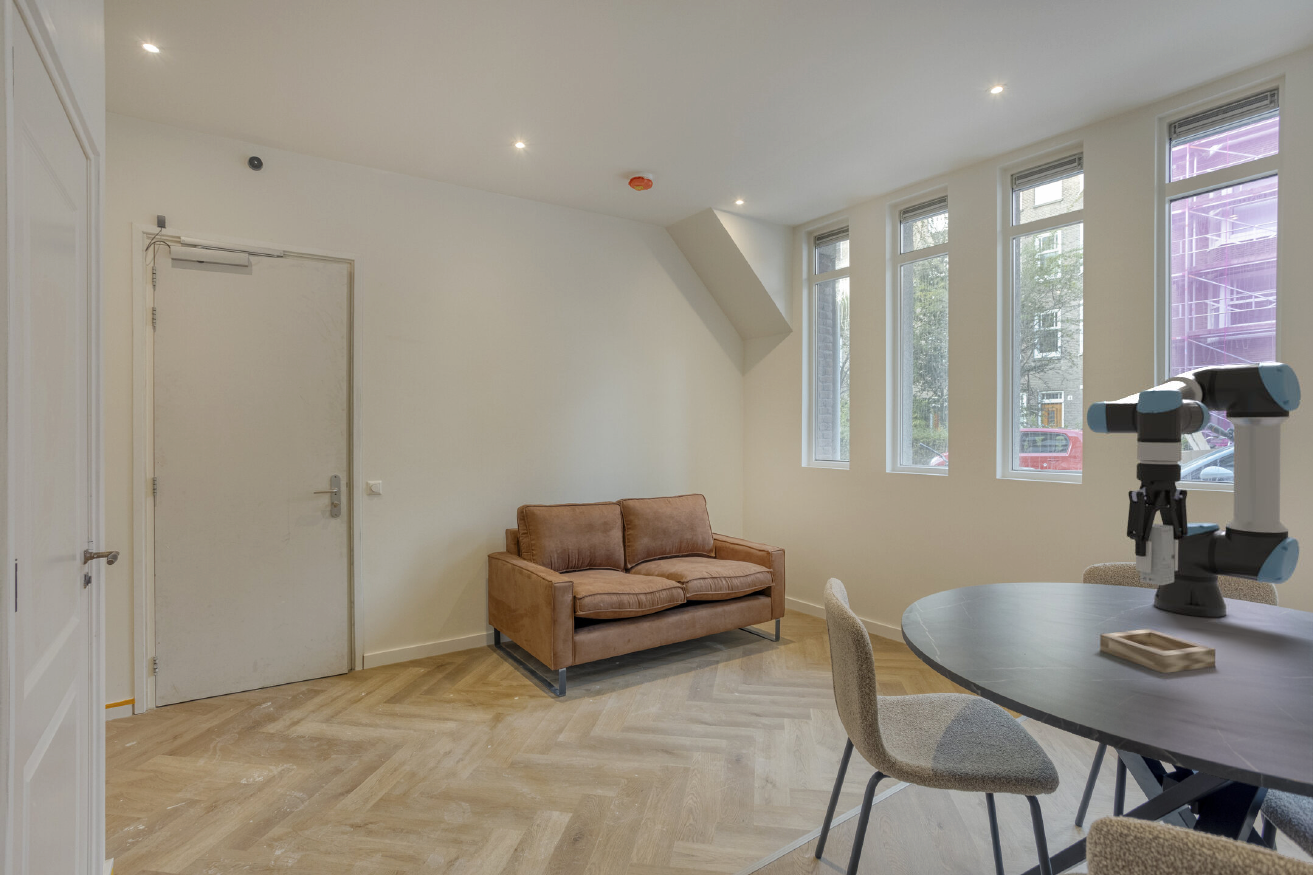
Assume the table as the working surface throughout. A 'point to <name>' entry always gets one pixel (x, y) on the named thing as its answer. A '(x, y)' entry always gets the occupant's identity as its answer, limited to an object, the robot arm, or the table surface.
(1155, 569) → the skincare box
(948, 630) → the table surface
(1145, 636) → the holder
